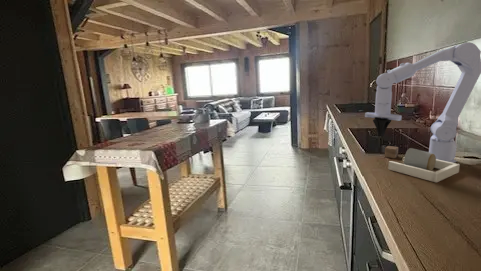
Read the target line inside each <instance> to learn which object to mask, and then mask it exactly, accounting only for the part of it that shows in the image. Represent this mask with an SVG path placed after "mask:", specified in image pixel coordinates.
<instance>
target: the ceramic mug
mask: <svg viewBox="0 0 481 271" xmlns="http://www.w3.org/2000/svg"><path fill="white" fill-rule="evenodd" d="M435 162H436V156H435V155H434V154H432V153H430V152H429V151H424V150H421V149H416V148H413V147H410V148H408V149H407V150H406V152H405V154H404V158H403V164H405V165H409V166H413V167H417V168H421V169H425V170H429V171H433V170H434V166H435Z"/></svg>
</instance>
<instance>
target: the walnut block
mask: <svg viewBox="0 0 481 271" xmlns="http://www.w3.org/2000/svg"><path fill="white" fill-rule="evenodd" d="M384 156H385V158H391V159H397V157H398V156H399V147H398V146H391V145H387V146H385V147H384Z"/></svg>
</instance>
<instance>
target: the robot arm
mask: <svg viewBox="0 0 481 271" xmlns="http://www.w3.org/2000/svg"><path fill="white" fill-rule="evenodd" d="M439 62H452V63H453V64H454V65H456V66H457V67H458V69H459V71H460V72H461V74H460V76H459V78H458V80H457V82H456V84H455V86H454V88H453V90H452V92H451V94H450V97H449V99H448V101H447V102H446V105H445V107H444V108H443V110H442V113H441V114H440V115H439V116H438V117H437V119H436V120H435V122H433V123H432V124H431V126H430V133H432V135H431V137H430V139H429V147H428V148H429V149H428V152H430V153H432V154H434V155H435V156H436V159H438V160H442V161H447V162H452V163H456V162H458V161H456V160H457V159H456V153H457V143H456V141H455V137H456V136H457V128H458V126H459V117H460V115H461V113H462V111H463V109H464V108H465V106H466V103H467V101H468V99H469V98H470V95H471V93H472V92H473V91H474V88H475V85H476V83H477V81H478V80H479V78H480V75H481V49H480V48H479V47H478V46H477V45H476V44H475V43H472V42H468V41H467V42H463V43H461V44H455V45H453V46H451V47H448V48H445V49H441V50H438V51H436V52H435V53H432V54H431V55H428V56H426V57H424V58H422V59H419V60H418V61H415V62H414V63H411V62H402V63H400V64H399V66H397V67H394V68H393V69H391V70H390V69H387V70H386V72H384V73H381V74H380V75H378V76H377V78H376V80H375V83H376V85H377V86H376V92H375V100H374V101H375V102H374V104H375V106H374V112H368V111H367V112H365V113H364V118H372V122H373V124H374V126H375V129H376V131H377V132H376V133H377V136H378V137H384V136H385V134H386V131H387V128H388V127H389V125H390V124H391V122H392V121H396V122H399V121H402V118H403V117H402V115H401V114H395V113H394V114H393V113H392V112H391V110H392V99H393V98H392V97H393V91H392V89H393V85H394V84H398V83H401V82H403V81H406V80H407V79H409V78H412V77H414V76H415V74H416V72H418V71H419V70H422V69H425V68H427V67H429V66H432V65H434V64H437V63H439ZM454 158H455V160H454Z"/></svg>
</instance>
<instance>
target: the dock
mask: <svg viewBox="0 0 481 271" xmlns="http://www.w3.org/2000/svg"><path fill="white" fill-rule="evenodd" d="M387 168H388V169H387V170H390V171H394V172H398V173H400V174H404V175H409V176H411V177H415V178H419V179H422V180H425V181H430V182H432V183H439V182H440V181H443V180H445V179H447V178H449V177H451V176H453V175H455V174H458V173H459V172H460V163H456V162H454V163H452V162H447V161H442V160H438V159H436V162H435V166H434V168H435V169H438V170H436V171H433V170H432V171H429V170H425V169H421V168H417V167H413V166H409V165H405V164H404V163H400V162H397V161H393V160H389V161H388V166H387ZM434 168H433V169H434Z"/></svg>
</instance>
